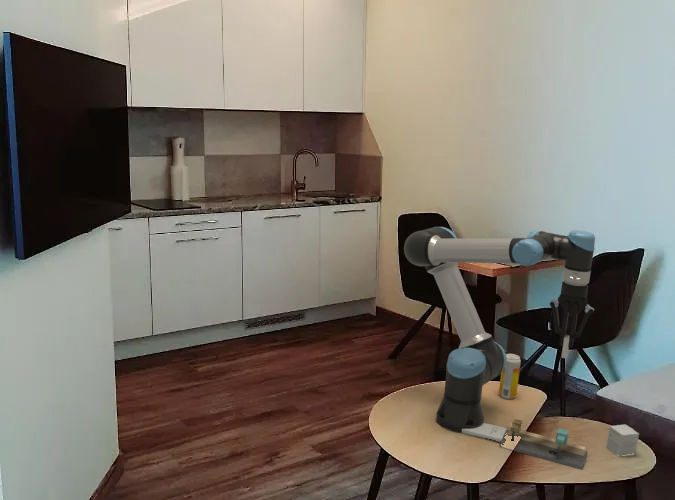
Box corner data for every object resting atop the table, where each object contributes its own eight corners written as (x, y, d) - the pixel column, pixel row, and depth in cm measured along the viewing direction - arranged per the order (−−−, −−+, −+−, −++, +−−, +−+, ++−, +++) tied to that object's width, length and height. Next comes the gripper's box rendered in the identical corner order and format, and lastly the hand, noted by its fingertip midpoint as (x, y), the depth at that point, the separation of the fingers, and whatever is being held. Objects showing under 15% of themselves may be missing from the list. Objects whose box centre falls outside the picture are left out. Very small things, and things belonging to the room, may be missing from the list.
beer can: (516, 394, 246) (522, 355, 242) (514, 401, 240) (520, 361, 237) (499, 391, 248) (504, 352, 244) (497, 397, 242) (502, 357, 239)
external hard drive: (467, 423, 222) (506, 432, 217) (461, 433, 214) (501, 443, 210) (468, 418, 221) (507, 427, 216) (461, 428, 214) (502, 438, 209)
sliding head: (553, 452, 204) (555, 436, 203) (556, 443, 209) (558, 428, 208) (563, 454, 203) (566, 438, 202) (566, 446, 208) (568, 430, 207)
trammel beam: (503, 439, 210) (505, 424, 209) (508, 432, 215) (509, 417, 214) (582, 461, 201) (585, 445, 200) (585, 452, 206) (587, 437, 205)
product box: (605, 447, 212) (609, 425, 210) (622, 445, 214) (625, 423, 212) (619, 457, 206) (623, 435, 205) (635, 455, 208) (639, 433, 207)
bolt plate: (499, 446, 208) (499, 443, 208) (506, 433, 217) (507, 430, 216) (582, 469, 198) (583, 466, 198) (586, 454, 207) (587, 451, 206)
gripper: (550, 281, 206) (540, 355, 211) (597, 289, 200) (585, 365, 205) (554, 276, 212) (544, 348, 217) (599, 283, 207) (588, 357, 212)
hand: (564, 356), depth 211 cm, fingers closed
